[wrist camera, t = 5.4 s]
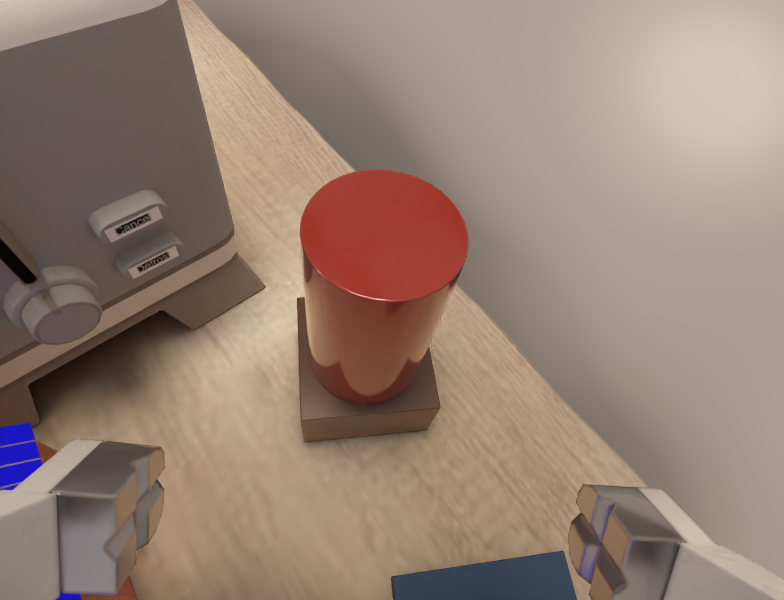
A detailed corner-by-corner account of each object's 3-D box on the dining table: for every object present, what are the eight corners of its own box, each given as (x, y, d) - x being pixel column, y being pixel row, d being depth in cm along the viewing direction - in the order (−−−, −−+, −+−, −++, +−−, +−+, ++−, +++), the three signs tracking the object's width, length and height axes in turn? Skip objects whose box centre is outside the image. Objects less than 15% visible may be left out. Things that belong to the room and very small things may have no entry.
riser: (408, 324, 31) (419, 291, 28) (426, 430, 27) (440, 407, 24) (300, 330, 30) (297, 297, 26) (304, 442, 26) (300, 420, 23)
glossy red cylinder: (412, 299, 27) (451, 168, 19) (429, 399, 24) (486, 297, 16) (306, 304, 26) (297, 168, 18) (310, 409, 23) (302, 306, 15)
